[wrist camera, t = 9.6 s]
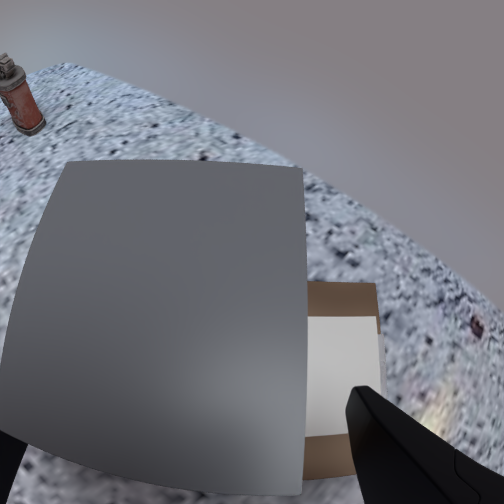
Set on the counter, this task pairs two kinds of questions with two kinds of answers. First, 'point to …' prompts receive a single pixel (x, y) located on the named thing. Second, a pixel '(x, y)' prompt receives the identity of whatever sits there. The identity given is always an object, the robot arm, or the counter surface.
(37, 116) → the lighter
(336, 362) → the terminal blocks
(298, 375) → the block
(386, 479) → the robot arm
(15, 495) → the counter surface
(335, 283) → the board
